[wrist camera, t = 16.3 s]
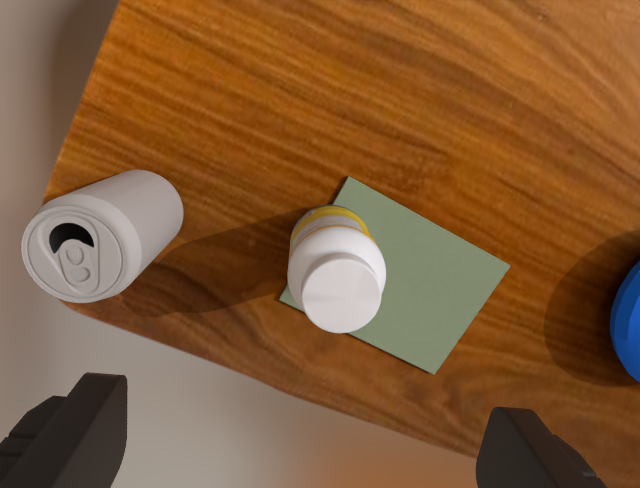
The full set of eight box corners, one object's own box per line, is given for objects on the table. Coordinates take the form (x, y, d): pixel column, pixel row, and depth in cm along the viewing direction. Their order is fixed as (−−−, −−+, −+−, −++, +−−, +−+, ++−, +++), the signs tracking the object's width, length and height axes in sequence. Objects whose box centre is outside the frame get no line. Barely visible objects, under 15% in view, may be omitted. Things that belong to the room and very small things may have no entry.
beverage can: (174, 162, 35) (113, 189, 24) (194, 240, 37) (146, 300, 25) (94, 175, 35) (-6, 208, 24) (118, 252, 37) (35, 318, 25)
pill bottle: (345, 289, 38) (363, 364, 27) (276, 258, 37) (266, 322, 26) (382, 223, 37) (418, 274, 26) (312, 188, 36) (317, 225, 24)
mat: (279, 298, 39) (278, 300, 38) (348, 175, 36) (348, 176, 35) (433, 372, 42) (434, 374, 41) (508, 264, 39) (510, 266, 38)
